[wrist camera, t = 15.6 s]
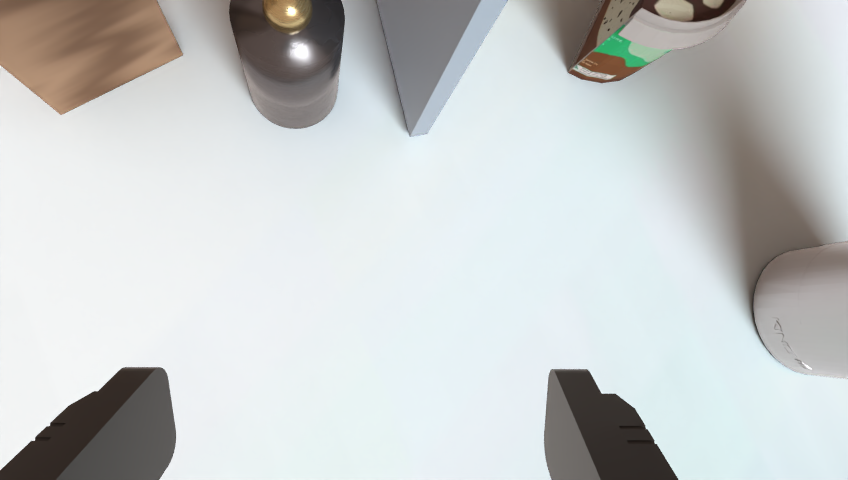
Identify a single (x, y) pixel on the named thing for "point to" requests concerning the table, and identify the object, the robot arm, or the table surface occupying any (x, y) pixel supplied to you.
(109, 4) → the door frame
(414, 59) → the cabinet door
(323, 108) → the pepper mill
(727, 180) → the table surface
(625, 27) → the food container
